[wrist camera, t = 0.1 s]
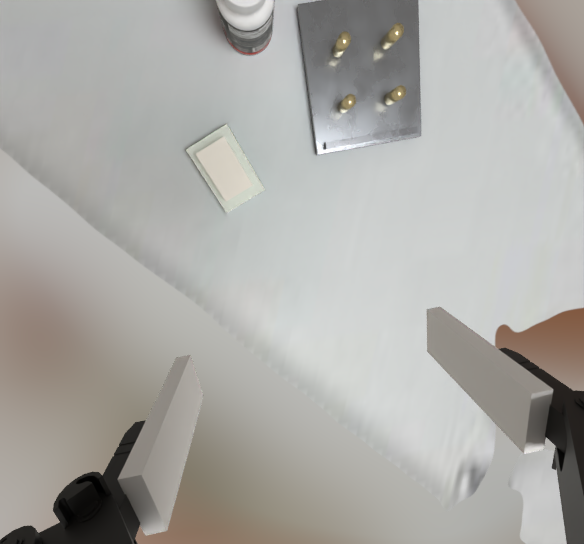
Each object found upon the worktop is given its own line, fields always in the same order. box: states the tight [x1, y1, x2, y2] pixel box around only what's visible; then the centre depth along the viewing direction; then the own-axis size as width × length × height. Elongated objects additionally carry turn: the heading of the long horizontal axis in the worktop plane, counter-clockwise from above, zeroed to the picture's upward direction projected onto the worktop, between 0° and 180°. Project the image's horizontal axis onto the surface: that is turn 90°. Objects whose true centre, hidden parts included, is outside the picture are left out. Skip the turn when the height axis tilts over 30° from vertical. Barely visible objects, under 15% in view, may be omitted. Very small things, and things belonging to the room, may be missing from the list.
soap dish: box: [186, 124, 265, 213], centre depth 37 cm, size 9×6×3 cm, turn 30°
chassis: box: [297, 0, 421, 155], centre depth 35 cm, size 16×14×4 cm
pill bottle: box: [216, 0, 275, 55], centre depth 29 cm, size 6×6×10 cm
